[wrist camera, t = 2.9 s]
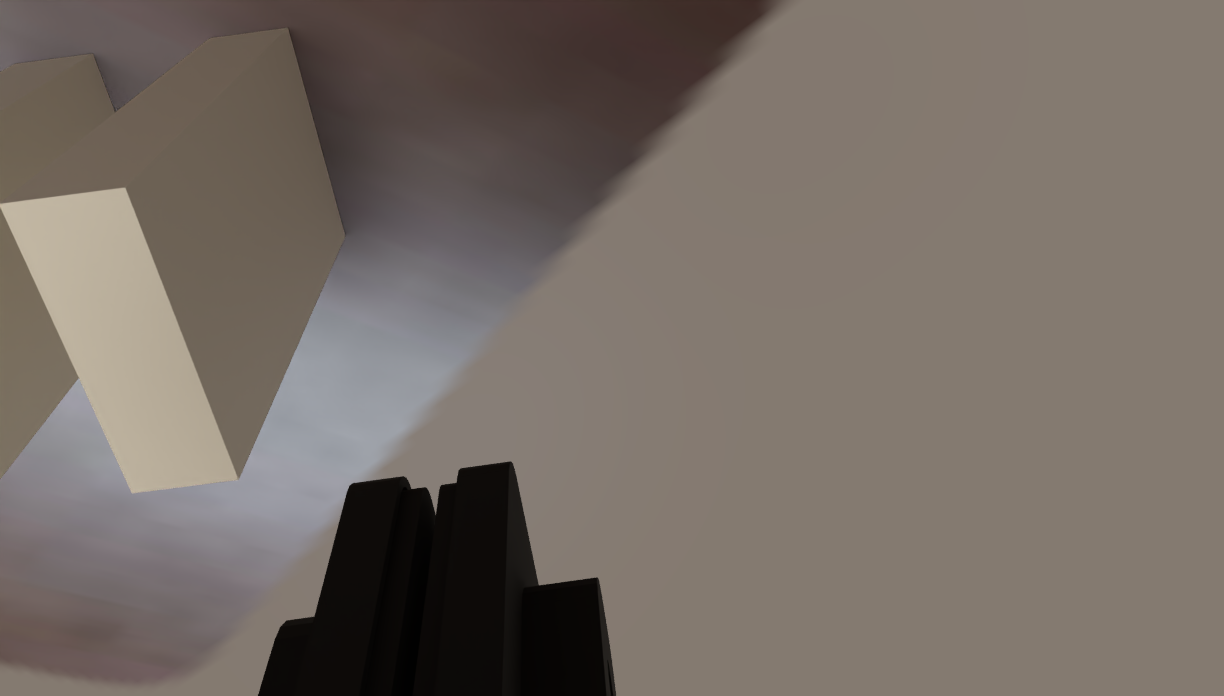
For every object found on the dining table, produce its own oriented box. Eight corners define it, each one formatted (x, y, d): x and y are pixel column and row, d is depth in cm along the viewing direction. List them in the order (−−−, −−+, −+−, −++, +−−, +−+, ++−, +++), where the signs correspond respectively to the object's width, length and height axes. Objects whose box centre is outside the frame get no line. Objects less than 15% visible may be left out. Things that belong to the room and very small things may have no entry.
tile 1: (288, 27, 23) (125, 187, 14) (345, 236, 25) (238, 479, 17) (210, 37, 23) (-2, 204, 14) (275, 245, 25) (132, 492, 17)
